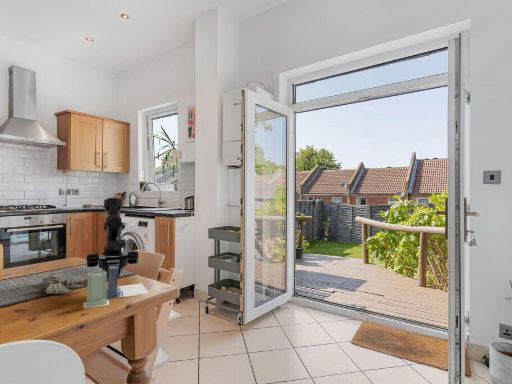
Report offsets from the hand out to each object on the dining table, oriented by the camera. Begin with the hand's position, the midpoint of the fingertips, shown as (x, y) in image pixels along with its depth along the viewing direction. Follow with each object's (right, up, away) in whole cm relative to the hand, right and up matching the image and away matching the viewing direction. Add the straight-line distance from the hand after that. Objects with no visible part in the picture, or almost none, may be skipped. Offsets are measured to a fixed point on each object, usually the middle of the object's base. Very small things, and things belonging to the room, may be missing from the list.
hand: (113, 277), depth 115 cm
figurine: (-25, -8, +5) cm, 26 cm away
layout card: (0, -8, +2) cm, 8 cm away
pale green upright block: (-2, -7, -8) cm, 11 cm away
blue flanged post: (-1, -7, +1) cm, 7 cm away
